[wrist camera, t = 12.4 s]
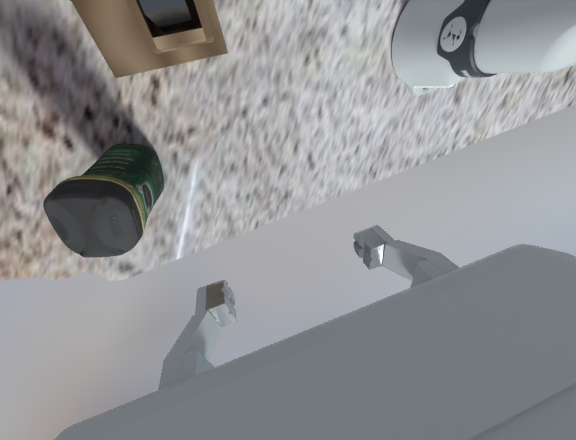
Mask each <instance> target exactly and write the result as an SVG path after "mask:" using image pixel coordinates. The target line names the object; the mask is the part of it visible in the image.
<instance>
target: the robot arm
mask: <svg viewBox="0 0 576 440" xmlns="http://www.w3.org/2000/svg"><path fill="white" fill-rule="evenodd" d="M392 62H393V67H394V70H395V73H396V74H397V76H398V77H399V79H400V80H401V81H403V82H404V83H405V84H407V85H408V86H409V89H410V92H411V94H412V95H413V96H421V95H423V94H425V93H427V92H429V91H431V90H432V89H434V88H445V87H452V86H453V85H454V84H456V83H458V82H460V81H462V80H463V79H465V78H466V77H469V78H482V77H490V76H493V75H496V74H498V73H550V72H555V71H558V70H562V69H565V68H567V67H570V66H573V65H575V64H576V0H409V2H408V3H407V5H406V6H405V8H404V10H403V12H402V14H401V16H400V18H399V20H398V23H397V26H396V29H395V33H394V37H393V43H392ZM354 239H355V242H354V249H355V252H356V253H357V255H358V256H359V257H361V258H363V262H364V264H365V265H366V266H367V267H368V269H369V270H370V269H373V268H376V267H379V266H383V267H385V268H387V269H389V270H391V271H393V272H395V273H397V274H399V275H401V276H403V277H405V278H407V279H409V280H411V281H412V284H411V287H410V288H409V289H406V290H404V291H402V292H399V293H397V294H394V295H392V296H389V297H387V298H384V299H382V300H380V301H377V302H374V303H372V304H370V305H367V306H365V307H362V308H360V309H357V310H355V311H352V312H350V313H348V314H345V315H343V316H340V317H338V318H335V319H333V320H330V321H328V322H325V323H323V324H320V325H318V326H315V327H313V328H311V329H308V330H306V331H303V332H301V333H298V334H296V335H293V336H291V337H289V338H286V339H284V340H281V341H279V342H276V343H274V344H271V345H269V346H266V347H264V348H261V349H259V350H257V351H254V352H252V353H249V354H247V355H244V356H242V357H239V358H237V359H234V360H232V361H229V362H227V363H225V364H222V365H220V366H217V367H214V366H213V365H212V364H211V363H210V362H209V358H210V356H211V354H212V351H213V349H214V346H215V344H216V342H217V339H218V336H219V334H220V332H221V330H222V327H223V326H225V325H228V324H230V323H233V322H235V321H236V310H235V308H234V307H233V306H234V304H235V299H234V295H233V292H232V290H231V289H230V287H228V283H227V282H226V280H222V281H219V282H216V283H213V284H210V285H207V286H204V287H201V288H198V291H197V299H196V312H195V315H194V316H192V318H191V319H190V321H189V322H188V324H187V325H186V327H185V329H184V330H183V332H182V333H181V335H180V336H179V338H178V339H177V341H176V343H175V344H174V346H173V347H172V349H171V351H170V352H169V354H168V355H167V356H166V358H165V359H164V362H163V368H162V373H161V379H160V385H159V390H158V391H156V392H153V393H151V394H148V395H146V396H143V397H141V398H138V399H136V400H133V401H131V402H128V403H126V404H124V405H121V406H119V407H116V408H114V409H111V410H109V411H106V412H104V413H101V414H99V415H96V416H94V417H92V418H89V419H86V420H84V421H81V422H79V423H76V424H74V425H72V426H70V427H68V428H67V429H65V430H64V431H63V432H61V433H60V434H59V435H58V436H57V437H56V439H54V440H576V257H575V256H573V255H570V254H568V253H564V252H560V251H556V250H552V249H547V248H543V247H538V246H533V245H527V244H519V245H515V246H512V247H510V248H507V249H505V250H502V251H500V252H497V253H495V254H493V255H490V256H488V257H485V258H483V259H480V260H478V261H475V262H473V263H471V264H468V265H465V266H463V267H461V268H459V267H458V266H456V265H455V264H454V263H452V262H451V261H450V260H449V259H447V258H446V257H445V256H443V255H442V254H441V253H439V252H435V251H432V250H429V249H425V248H422V247H419V246H416V245H413V244H409V243H406V242H403V241H399V240H396V241H395V240H394V239H393V238H392V237H390V235H388V234H387V233H386V232H385V231H384V230H383V229H382V228H380V227H379V226H378V225H376V226H373V227H370V228H367V229H364V230H362V231H359V232H356V233H354Z"/></svg>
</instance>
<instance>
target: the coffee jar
mask: <svg viewBox="0 0 576 440" xmlns="http://www.w3.org/2000/svg"><path fill="white" fill-rule="evenodd" d="M163 188H164V178H163V172H162V167H161V164H160V161H159V158H158V156H157V155H156V154H155V153H154V152H153V151H152V150H151V149H149V148H147V147H145V146H141V145H133V144H118V145H114V146H112V147H111V148H109V149H108V150H107V151H106V152H105V153H104V154H103V155H102V156H101V157H100V158H99V159H98V160H97V161H96V162H95V163H94V164H93V165H92V166H91V167H90V168H89V169H88V170H87V171H86V172H85V173H84V174H83V175H81V176H76V177H71V178H68V179H66V180H64V181H62V182H60V183H59V184H58V185H57V186H56V187H55V188H54V189H53V190H52V192H51V193H50V194H49V195H48V196H47V197H46V198H45V200H44V205H43V206H44V210H45V213H46V214H47V216H48V219H49V221H50V222H51V224H52V226H53V228H54V229H55V231H56V233H57V234H58V236H59V237H60V239H61V240H62V242H63V243H64V244H65V245H66V246H67V247H68V248H70V249H71V250H72V251H74V252H75V253H77V254H79V255H81V256H82V257H109V256H118V255H122V254H124V253H126V252H128V251H130V250H131V249H132V248H134V246H135V245H136V244H137V243H138V241H139V240H140V238H141V237H142V235H143V232H144V229H145V225H146V221H147V218H148V216H149V214H150V212H151V210H152V208H153V206H154V204H155V203H156V201H157V199H158V198H159V196H160V195H161V193H162V191H163Z"/></svg>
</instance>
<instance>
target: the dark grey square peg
mask: <svg viewBox="0 0 576 440" xmlns="http://www.w3.org/2000/svg"><path fill="white" fill-rule="evenodd" d="M139 2H140V4H141V6H142V8H143V11H144V13H145V15H146V16H147V17H148V18H149V19H151V20H152V21H153V22H154V23H155V24H156V25H157V26H158V27H159V28H161V29H162V30H163V31H164V32H169V31H174V30H178V29H183V28H187V27H192V26H194V23H193V21H192V18H191V15H190V12H189V9H188V6H187V3H186V0H139Z"/></svg>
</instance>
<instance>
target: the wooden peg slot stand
mask: <svg viewBox="0 0 576 440" xmlns="http://www.w3.org/2000/svg"><path fill="white" fill-rule="evenodd" d="M70 1H72V3H73V5H74V6H75V8H76V10H77V12H78V13H79V15H80V17H81V18H82V20H83V22H84V24H85V25H86V27H87V29H88V31H89V32H90V34H91V36H92V38H93V39H94V41H95V43H96V45H97V46H98V48H99V50H100V52H101V53H102V55H103V57H104V59H105V60H106V62H107V64H108V66H109V67H110V69H111V71H112V72H113V74H114V76H115V78H118V77H123V76H128V75H132V74H136V73H141V72H145V71H150V70H154V69H159V68H163V67H168V66H172V65H177V64H181V63H186V62H190V61H195V60H199V59H204V58H208V57H213V56H217V55H222V54H226V53H228V52H227V48H226V45H225V41H224V37H223V34H222V30H221V27H220V23H219V20H218V16H217V13H216V9H215V6H214V2H213V0H186V3H187V6H188V9H189V12H190V15H191V18H192V21H193V23H194V26H192V27H187V28H183V29H178V30H174V31H169V32H164V31H163V30H162V29H161V28H159V27H158V26H157V25H156V24H155V23H154V22H153V21H152V20H151V19H149V18H148V17H147V16H146V15H145V13H144V11H143V8H142V6H141V4H140V2H139V0H70Z"/></svg>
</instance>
